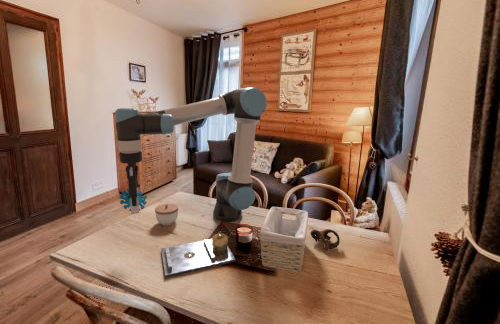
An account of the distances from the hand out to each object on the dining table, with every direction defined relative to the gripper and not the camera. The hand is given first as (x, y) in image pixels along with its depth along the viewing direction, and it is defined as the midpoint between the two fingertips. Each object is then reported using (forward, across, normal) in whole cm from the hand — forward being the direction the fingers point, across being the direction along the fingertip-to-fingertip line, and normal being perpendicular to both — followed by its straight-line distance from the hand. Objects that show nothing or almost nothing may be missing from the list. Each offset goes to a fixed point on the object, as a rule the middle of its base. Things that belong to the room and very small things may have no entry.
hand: (135, 208), depth 96 cm
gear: (0, 0, 0) cm, 0 cm away
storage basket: (+18, +24, +53) cm, 61 cm away
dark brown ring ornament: (+18, +24, +72) cm, 79 cm away
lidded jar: (+18, -19, +12) cm, 29 cm away
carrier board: (+17, +14, +21) cm, 30 cm away
